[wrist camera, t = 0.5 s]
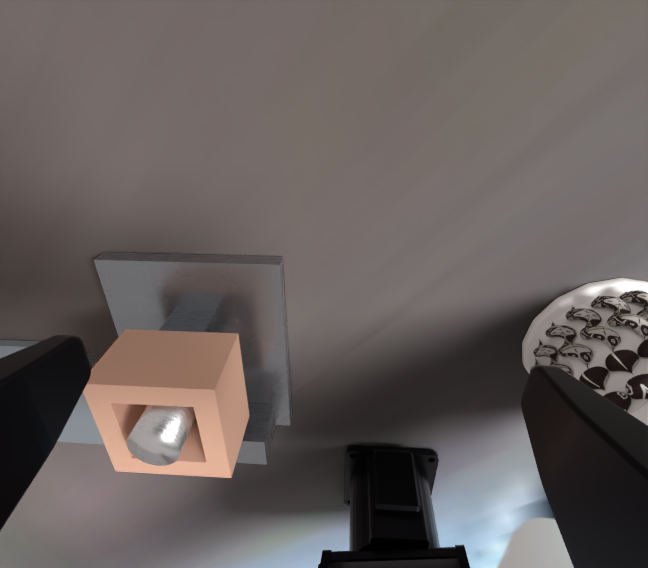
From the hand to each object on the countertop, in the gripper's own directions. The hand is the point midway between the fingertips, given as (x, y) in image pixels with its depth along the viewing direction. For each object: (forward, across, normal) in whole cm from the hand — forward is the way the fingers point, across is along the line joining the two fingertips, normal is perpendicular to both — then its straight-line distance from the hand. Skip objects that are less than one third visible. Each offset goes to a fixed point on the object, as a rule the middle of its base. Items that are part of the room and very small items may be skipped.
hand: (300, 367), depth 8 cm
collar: (+10, +8, +10) cm, 16 cm away
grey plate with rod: (+13, +8, +10) cm, 18 cm away
